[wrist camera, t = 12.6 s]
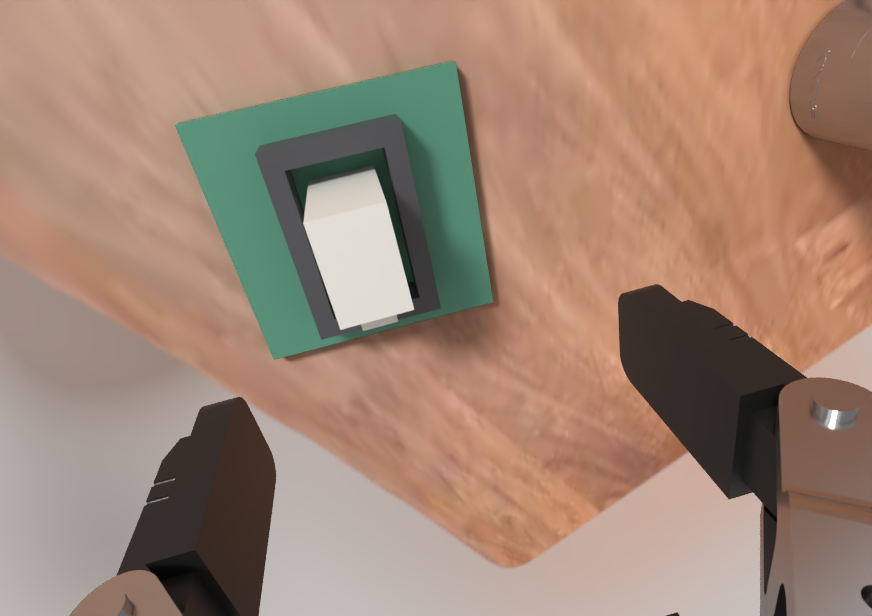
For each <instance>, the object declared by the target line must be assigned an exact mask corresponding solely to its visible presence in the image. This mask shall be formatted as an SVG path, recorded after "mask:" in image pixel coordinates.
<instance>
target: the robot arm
mask: <svg viewBox="0 0 872 616" xmlns="http://www.w3.org/2000/svg"><path fill="white" fill-rule="evenodd" d="M790 103H791V109H792V114H793V116H794V118H795V121H796V123H797V124H798V125H799V127H800V128H801V129H802V130H803V131H804V132H805V133H807V134H808V135H810V136H811V137H814V138H818V139H822V140H826V141H831V142H835V143H840V144H844V145H849V146H853V147H858V148H862V149H866V150H870V151H872V0H846V1H845V2H843V3H842V4H841V5H839V6H838V7H836V8H835V9H834V10H833V11H832V12H831V13H829V14H828V15H827V16H826V17H825V18H824V19H823V20H822V21H821V22H820V24H819V25H818V26H817V28H816V29H815V30H814V31H813V33H812V34H811V35H810V37H809V38H808V40H807V42H806V44H805V46H804V47H803V49H802V51H801V53H800V55H799V58H798V60H797V63H796V65H795V68H794V72H793V76H792V81H791V87H790ZM618 313H619V341H620V357H621V362H622V366H623V368H624V371H625V373H626V375H627V377H628V379H629V380H630V382H631V383H632V384H633V386H634V387H635V388H636V389H637V390H638V392H639V393H640V394H641V395H642V396H643V397H644V399H645V400H646V401H647V402H648V403H649V405H650V406H651V407H652V408H653V409H654V411H655V412H656V413H657V414H658V415H659V417H660V418H661V419H662V420H663V421H664V422H665V424H666V425H667V426H668V427H669V428H670V430H671V431H672V432H673V433H674V434H675V436H676V437H677V438H678V439H679V440H680V442H681V443H682V444H683V445H684V446H685V448H686V449H687V450H688V451H689V452H690V453H691V455H692V456H693V457H694V458H695V459H696V461H697V462H698V463H699V464H700V465H701V467H702V468H703V469H704V470H705V471H706V473H707V474H708V475H709V476H710V477H711V478H712V480H713V481H714V482H715V483H716V484H717V486H718V487H719V488H720V489H721V490H722V491H723V493H724V494H725V495H726V496H727V497H728V499H731V498H735V497H739V496H742V495H745V494H748V493H752V492H753V493H755V495H756V496H757V497H758V498H759V499H760V501H761V502H762V507H761V514H760V523H761V524H760V537H761V538H760V616H872V392H870V391H869V390H867V389H865V388H863V387H860V386H858V385H855V384H853V383H849V382H845V381H841V380H837V379H831V378H807V377H805V376H804V375H803V374H801V373H800V372H799V371H797V370H796V369H794V368H793V367H792V366H790V365H789V364H788V363H786V362H785V361H784V360H782V359H781V358H780V357H778V356H777V355H776V354H774V353H773V352H771V351H770V350H769V349H767V348H766V347H765V346H763V345H762V344H761V343H759V342H758V341H757V340H755V339H754V338H752V337H751V338H749V336H748V334H747V333H746V332H744V331H743V330H742V329H740V328H739V327H738V326H733V323H732V322H731V321H729V320H728V319H727V318H725V317H724V316H723V315H721V314H720V313H719V312H717V311H716V310H715V309H712V308H709V307H707V306H704V305H701V304H698V303H696V302H693V301H690V300H687V301H683V302H681V301H680V300H678V299H677V298H676V297H675V296H673V295H672V294H671V293H670V292H668V291H667V290H666V289H664V288H663V287H662V286H660V285H658V284H655V285H652V286H648V287H644V288H641V289H637V290H633V291H630V292H626V293H623V294H621V295H620V297H619V301H618ZM275 483H276V470H275V463H274V459H273V456H272V453H271V451H270V448H269V446H268V444H267V442H266V440H265V438H264V436H263V434H262V432H261V430H260V428H259V426H258V425H257V423H256V420H255V418H254V416H253V415H252V413H251V411H250V409H249V407H248V405H247V403H246V401H245V400H244V399H243V398H241V397H237V398H233V399H229V400H226V401H222V402H218V403H215V404H211V405H207V406H204V407H202V408H201V409H200V411H199V413H198V416H197V419H196V421H195V424H194V427H193V430H192V433H191V436H188V437H184V438H181V439H180V440H179V441H178V442H177V443H176V445H175V446H174V447H173V448H172V449H171V451H170V452H169V453H168V455H167V456H166V457H165V458H164V459H163V460H162V463H161V465H160V468H159V471H158V473H157V476H156V478H155V480H154V487H152V488H151V491H150V493H149V496H148V498H147V501H146V502H147V505H146V506H144V508H143V511H142V513H141V516H140V519H139V521H138V523H137V526H136V528H135V531H134V533H133V536H132V538H131V541H130V543H129V546H128V548H127V551H126V553H125V556H124V558H123V561H122V563H121V566H120V568H119V571H118V573H117V576H116V577H113V578H111V579H110V580H108V581H106V582H105V583H103V584H102V585H100V586H99V587H97V588H96V589H95V590H93V591H92V592H91V593H90V594H89V595H87V596H86V597H85V598H84V599H83V600H82V601H81V602H80V603H79V605H78V606H77V607H76V608H75V609H74V610H73V611H72V613H71V614H70V616H258V615H259V606H260V599H261V592H262V583H263V576H264V567H265V560H266V553H267V545H268V538H269V530H270V522H271V514H272V507H273V499H274V490H275ZM667 616H679V614H678V613H674V614H670V615H667Z"/></svg>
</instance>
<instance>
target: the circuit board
mask: <svg viewBox="0 0 872 616" xmlns="http://www.w3.org/2000/svg"><path fill="white" fill-rule="evenodd" d="M175 126H176V129H177V131H178V134H179V136H180V138H181V141H182V143H183V145H184V148H185V150H186V153H187V155H188V157H189V160H190V162H191V164H192V167H193V169H194V172H195V174H196V176H197V179H198V181H199V183H200V186H201V188H202V190H203V193H204V195H205V198H206V200H207V202H208V205H209V207H210V209H211V212H212V214H213V217H214V219H215V221H216V224H217V226H218V228H219V231H220V233H221V236H222V238H223V240H224V243H225V245H226V247H227V250H228V252H229V254H230V257H231V259H232V262H233V264H234V266H235V269H236V271H237V273H238V276H239V278H240V281H241V283H242V285H243V288H244V290H245V292H246V295H247V297H248V300H249V302H250V304H251V307H252V309H253V311H254V314H255V316H256V318H257V321H258V323H259V326H260V328H261V330H262V333H263V335H264V337H265V340H266V342H267V345H268V347H269V349H270V352H271V354H272V356H273V359H274V360H275V359H279V358H283V357H286V356H290V355H294V354H298V353H302V352H305V351H309V350H313V349H317V348H321V347H325V346H328V345H332V344H336V343H340V342H344V341H347V340H351V339H355V338H359V337H363V336H367V335H370V334H374V333H378V332H382V331H386V330H389V329H393V328H397V327H401V326H405V325H408V324H412V323H416V322H420V321H424V320H428V319H431V318H435V317H439V316H443V315H447V314H450V313H454V312H458V311H462V310H466V309H469V308H473V307H477V306H481V305H485V304H489V303H492V302H493V297H492V291H491V284H490V278H489V272H488V265H487V259H486V252H485V246H484V240H483V233H482V227H481V220H480V214H479V207H478V201H477V195H476V188H475V182H474V175H473V169H472V163H471V156H470V150H469V143H468V137H467V131H466V124H465V118H464V111H463V105H462V98H461V92H460V86H459V79H458V73H457V66H456V62H455V61H449V62H444V63H440V64H436V65H431V66H427V67H422V68H418V69H414V70H409V71H405V72H400V73H396V74H392V75H387V76H383V77H378V78H374V79H370V80H365V81H361V82H357V83H352V84H348V85H343V86H339V87H335V88H330V89H326V90H321V91H317V92H313V93H308V94H304V95H299V96H295V97H291V98H286V99H282V100H277V101H273V102H269V103H264V104H260V105H255V106H251V107H247V108H242V109H238V110H233V111H229V112H225V113H220V114H216V115H212V116H207V117H203V118H198V119H194V120H190V121H185V122H181V123H178V124H177V125H175ZM370 165H373V166H374V168H375V171H376V174H377V177H378V180H379V183H380V185H381V188H382V191H383V194H384V197H385V200H386V203H387V207H388V210H389V214H390V218H391V222H392V226H393V230H394V233H395V237H396V241H397V245H398V249H399V253H400V257H401V260H402V264H403V268H404V272H405V276H406V280H407V283H408V287H409V291H410V295H411V299H412V303H413V307H414V310H412V311H408V312H404V313H401V314H397V319H398V322H395V323H391V324H387V325H384V326H380V327H376V328H373V329H369V330H365V331H363V330H362V326H361V324H360V325H357V326H353V327H349V328H346V329H342V330H340V327H339V324H338V321H337V319H336V316H335V313H334V310H333V307H332V304H331V301H330V299H329V296H328V293H327V290H326V287H325V284H324V281H323V278H322V276H321V273H320V270H319V267H318V264H317V261H316V258H315V256H314V253H313V250H312V247H311V244H310V241H309V238H308V236H307V233H306V230H305V227H304V224H303V222H304V213H305V205H306V197H307V189H308V181H310V180H314V179H318V178H322V177H326V176H330V175H334V174H338V173H342V172H346V171H350V170H354V169H358V168H362V167H366V166H370Z"/></svg>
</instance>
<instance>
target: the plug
mask: <svg viewBox="0 0 872 616" xmlns="http://www.w3.org/2000/svg"><path fill="white" fill-rule="evenodd" d="M303 224H304V227H305V230H306V233H307V236H308V238H309V241H310V244H311V247H312V250H313V253H314V256H315V258H316V261H317V264H318V267H319V270H320V273H321V276H322V278H323V281H324V284H325V287H326V290H327V293H328V296H329V299H330V301H331V304H332V307H333V310H334V313H335V316H336V319H337V321H338V324H339V327H340V330H342V329H346V328H349V327H353V326H357V325H360V324H361V326H362V330H363V331H365V330H369V329H373V328H376V327H380V326H384V325H387V324H391V323H395V322H398V319H397V314H401V313H404V312H408V311H412V310H414V307H413V303H412V299H411V295H410V291H409V287H408V283H407V280H406V276H405V272H404V268H403V264H402V260H401V257H400V253H399V249H398V245H397V241H396V237H395V233H394V230H393V226H392V222H391V218H390V214H389V210H388V207H387V203H386V200H385V197H384V194H383V191H382V188H381V185H380V183H379V180H378V177H377V174H376V171H375V168H374V166H373V165H370V166H366V167H362V168H358V169H354V170H350V171H346V172H342V173H338V174H334V175H330V176H326V177H322V178H318V179H314V180H310V181H308V189H307V197H306V205H305V213H304V222H303Z"/></svg>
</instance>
